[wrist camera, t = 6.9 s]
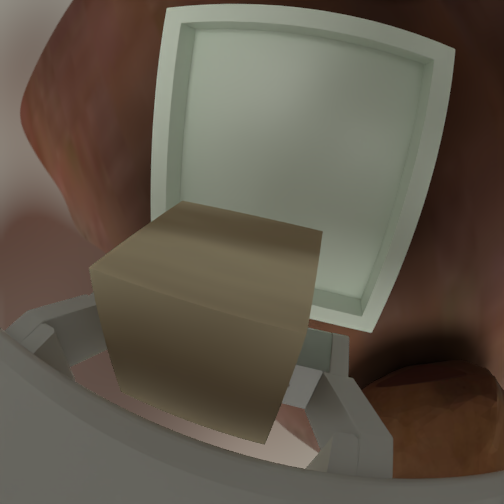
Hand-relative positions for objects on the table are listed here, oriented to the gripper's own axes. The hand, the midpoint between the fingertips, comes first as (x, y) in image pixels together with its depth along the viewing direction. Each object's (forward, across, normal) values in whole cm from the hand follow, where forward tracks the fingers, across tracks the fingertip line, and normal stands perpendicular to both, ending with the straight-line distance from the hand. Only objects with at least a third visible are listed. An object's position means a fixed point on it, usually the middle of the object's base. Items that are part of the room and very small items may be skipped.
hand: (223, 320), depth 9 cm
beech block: (+2, 0, -1) cm, 2 cm away
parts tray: (+10, 0, -3) cm, 10 cm away
